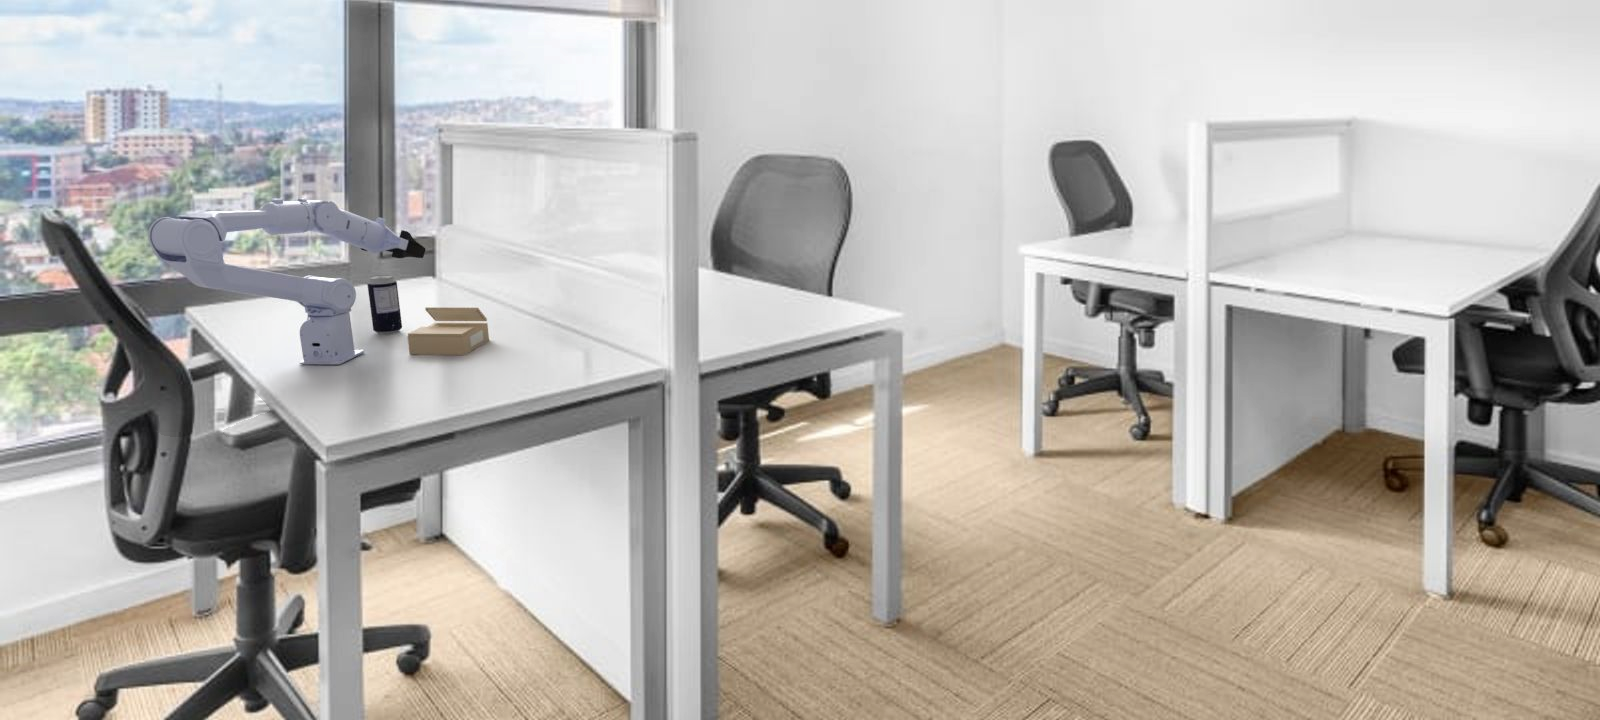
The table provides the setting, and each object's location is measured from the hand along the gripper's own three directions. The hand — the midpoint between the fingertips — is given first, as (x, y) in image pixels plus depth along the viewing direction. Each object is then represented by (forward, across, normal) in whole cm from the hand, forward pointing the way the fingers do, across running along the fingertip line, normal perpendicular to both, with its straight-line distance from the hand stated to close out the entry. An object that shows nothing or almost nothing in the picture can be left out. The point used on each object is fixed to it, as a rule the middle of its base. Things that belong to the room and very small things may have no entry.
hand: (410, 250), depth 207 cm
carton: (+2, -16, +17) cm, 24 cm away
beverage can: (+6, +6, +18) cm, 20 cm away
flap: (+3, -14, +11) cm, 18 cm away
